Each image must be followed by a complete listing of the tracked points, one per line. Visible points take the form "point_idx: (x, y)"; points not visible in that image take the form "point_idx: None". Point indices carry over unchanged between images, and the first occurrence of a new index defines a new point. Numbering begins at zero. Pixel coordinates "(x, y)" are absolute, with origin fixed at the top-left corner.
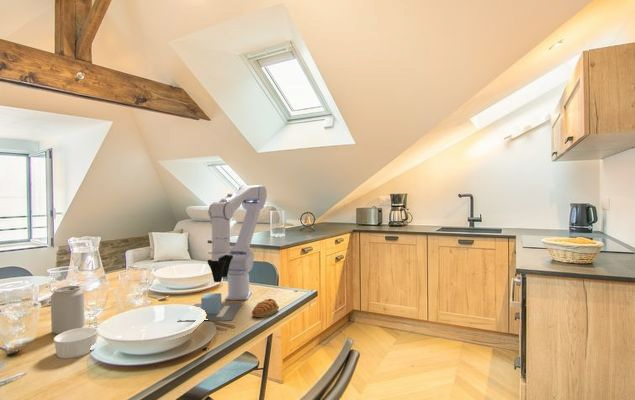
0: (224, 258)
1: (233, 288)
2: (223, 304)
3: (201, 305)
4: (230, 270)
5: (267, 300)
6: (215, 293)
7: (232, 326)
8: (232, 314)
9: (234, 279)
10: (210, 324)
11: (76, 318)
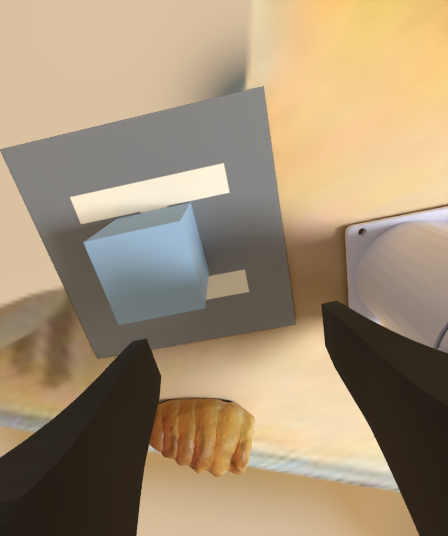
0: (437, 507)
1: (380, 291)
2: (267, 254)
3: (101, 230)
4: None
5: (232, 457)
6: (194, 278)
7: (56, 377)
8: (153, 340)
9: (412, 329)
10: (40, 305)
11: None
